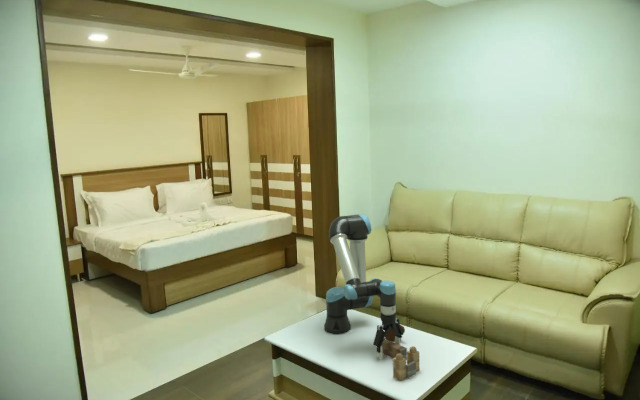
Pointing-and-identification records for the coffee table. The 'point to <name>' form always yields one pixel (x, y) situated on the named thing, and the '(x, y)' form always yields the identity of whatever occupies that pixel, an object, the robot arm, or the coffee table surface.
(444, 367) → the coffee table surface
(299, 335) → the coffee table surface
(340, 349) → the coffee table surface
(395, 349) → the rail
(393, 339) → the mug
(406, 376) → the knobbed wooden twin blocks
